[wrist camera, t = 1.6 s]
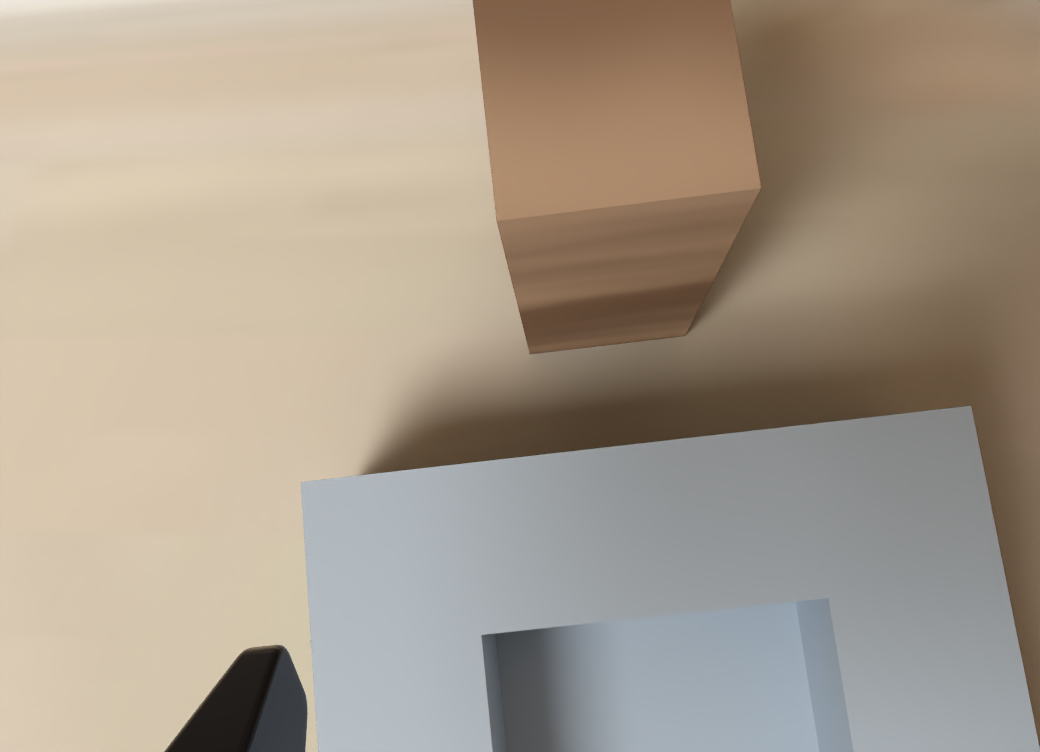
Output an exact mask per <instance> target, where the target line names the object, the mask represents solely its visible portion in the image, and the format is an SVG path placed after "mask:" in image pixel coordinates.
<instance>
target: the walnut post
mask: <svg viewBox="0 0 1040 752" xmlns="http://www.w3.org/2000/svg"><path fill="white" fill-rule="evenodd" d="M473 7H474V16H475V25H476V35H477V44H478V53H479V62H480V72H481V81H482V90H483V99H484V108H485V118H486V127H487V136H488V145H489V155H490V164H491V173H492V182H493V192H494V201H495V210H496V219H497V224H498V228H499V232H500V236H501V240H502V244H503V248H504V252H505V256H506V260H507V264H508V268H509V272H510V276H511V280H512V284H513V288H514V292H515V296H516V300H517V304H518V308H519V312H520V316H521V320H522V324H523V328H524V332H525V336H526V340H527V344H528V348H529V352H530V354H536V353H544V352H552V351H561V350H569V349H578V348H586V347H595V346H603V345H612V344H620V343H629V342H637V341H645V340H654V339H662V338H671V337H679V336H685V335H686V333H687V331H688V329H689V327H690V325H691V323H692V321H693V319H694V317H695V315H696V314H697V312H698V310H699V308H700V306H701V304H702V302H703V300H704V298H705V296H706V294H707V292H708V290H709V288H710V286H711V284H712V282H713V281H714V279H715V277H716V275H717V273H718V271H719V269H720V267H721V265H722V263H723V261H724V259H725V257H726V255H727V253H728V251H729V250H730V248H731V246H732V244H733V242H734V240H735V238H736V236H737V234H738V232H739V230H740V228H741V226H742V224H743V222H744V220H745V218H746V217H747V215H748V213H749V211H750V209H751V207H752V205H753V203H754V201H755V199H756V197H757V195H758V193H759V191H760V189H761V184H760V178H759V172H758V166H757V160H756V154H755V148H754V142H753V136H752V130H751V124H750V118H749V112H748V106H747V100H746V94H745V88H744V82H743V75H742V69H741V63H740V57H739V51H738V45H737V39H736V33H735V27H734V21H733V15H732V9H731V3H730V0H473Z"/></svg>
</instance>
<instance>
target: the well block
mask: <svg viewBox="0 0 1040 752" xmlns="http://www.w3.org/2000/svg"><path fill="white" fill-rule="evenodd" d="M301 493H302V508H303V524H304V539H305V555H306V571H307V586H308V602H309V618H310V633H311V649H312V664H313V680H314V696H315V711H316V727H317V742H318V752H1040V747H1039V742H1038V737H1037V732H1036V727H1035V722H1034V717H1033V712H1032V707H1031V702H1030V697H1029V692H1028V687H1027V682H1026V677H1025V672H1024V667H1023V662H1022V657H1021V652H1020V647H1019V642H1018V637H1017V632H1016V627H1015V622H1014V617H1013V612H1012V607H1011V602H1010V597H1009V592H1008V587H1007V582H1006V577H1005V572H1004V567H1003V562H1002V557H1001V552H1000V547H999V542H998V537H997V532H996V527H995V522H994V517H993V512H992V507H991V502H990V497H989V492H988V487H987V482H986V477H985V472H984V467H983V462H982V457H981V452H980V447H979V442H978V437H977V432H976V427H975V422H974V417H973V412H972V407H971V406H964V407H955V408H947V409H938V410H929V411H920V412H911V413H903V414H894V415H885V416H876V417H868V418H859V419H850V420H841V421H832V422H824V423H815V424H806V425H797V426H789V427H780V428H771V429H762V430H753V431H745V432H736V433H727V434H718V435H710V436H701V437H692V438H683V439H674V440H666V441H657V442H648V443H639V444H631V445H622V446H613V447H604V448H595V449H587V450H578V451H569V452H560V453H552V454H543V455H534V456H525V457H516V458H508V459H499V460H490V461H481V462H473V463H464V464H455V465H446V466H438V467H429V468H420V469H411V470H402V471H394V472H385V473H376V474H367V475H359V476H350V477H341V478H332V479H323V480H315V481H306V482H301Z"/></svg>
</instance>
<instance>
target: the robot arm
mask: <svg viewBox="0 0 1040 752" xmlns="http://www.w3.org/2000/svg"><path fill="white" fill-rule="evenodd" d="M306 729H307V700H306V695H305V692H304V689H303V687H302V684H301V682H300V679H299V677H298V674H297V672H296V669H295V667H294V664H293V662H292V659H291V657H290V655H289V653H288V651H287V649H286V648H285V647H283V646H282V645H271V646H262V647H253V648H249V649H246V650H245V651H243V652H242V653H241V654H240V655H239V656H238V657H237V658H236V660H235V661H234V662H233V664H232V665H231V666H230V667H229V669H228V670H227V671H226V673H225V674H224V675H223V676H222V678H221V679H220V680H219V682H218V683H217V684H216V686H215V687H214V688H213V689H212V691H211V692H210V693H209V695H208V696H207V697H206V698H205V700H204V701H203V702H202V704H201V705H200V706H199V708H198V709H197V710H196V711H195V713H194V714H193V715H192V717H191V718H190V719H189V720H188V722H187V723H186V724H185V726H184V727H183V728H182V729H181V731H180V732H179V733H178V735H177V736H176V737H175V739H174V740H173V741H172V742H171V744H170V745H169V746H168V748H167V749H166V750H165V751H164V752H305V745H306Z"/></svg>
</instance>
